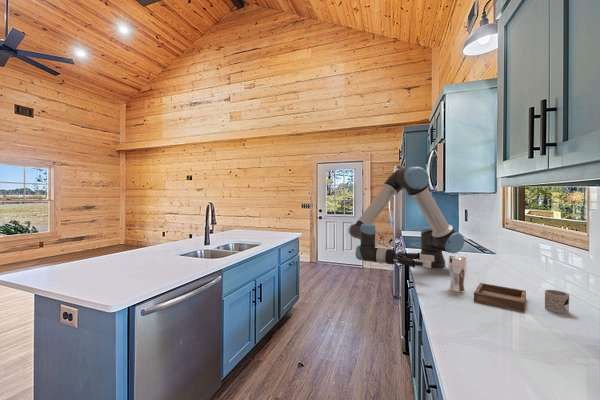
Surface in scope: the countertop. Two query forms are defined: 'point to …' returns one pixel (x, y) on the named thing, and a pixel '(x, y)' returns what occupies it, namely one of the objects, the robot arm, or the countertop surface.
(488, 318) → the countertop surface
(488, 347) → the countertop surface
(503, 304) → the tray
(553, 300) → the mug
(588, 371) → the countertop surface
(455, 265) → the beer glass
